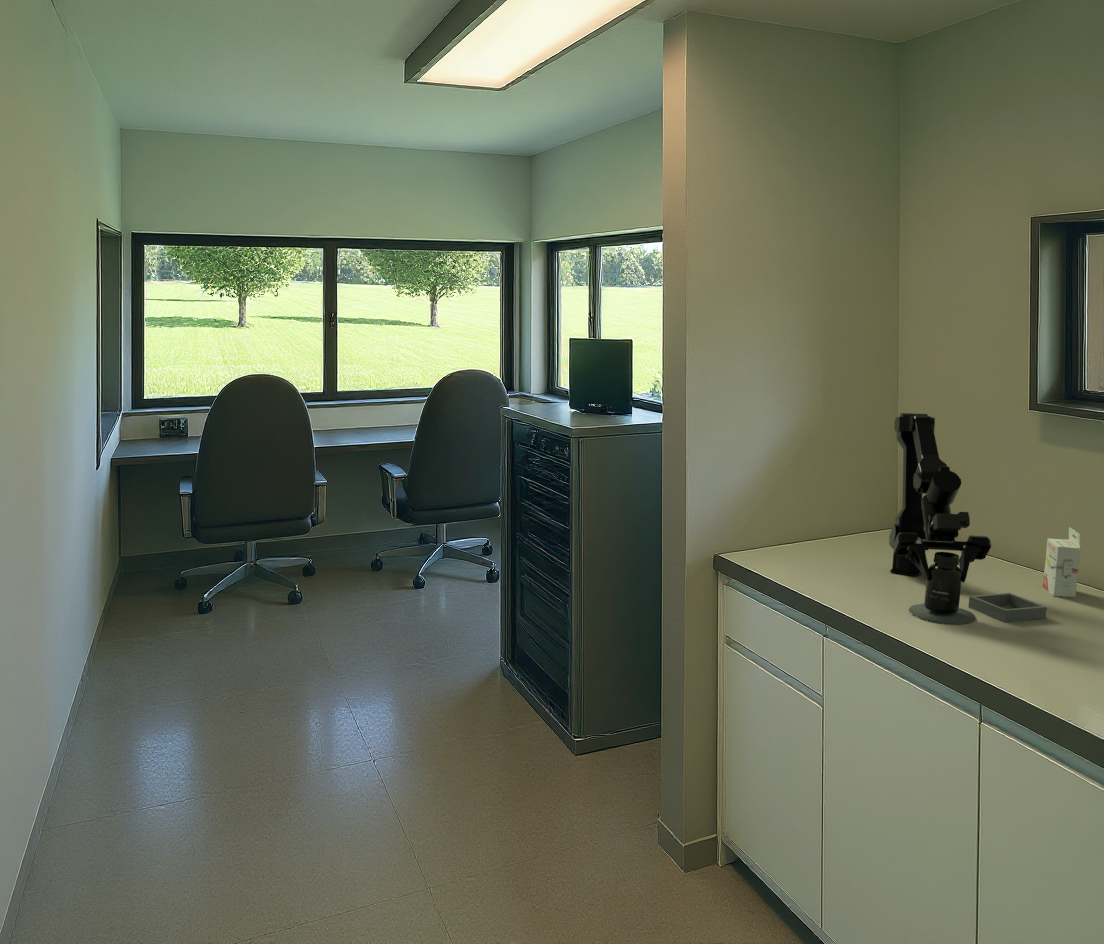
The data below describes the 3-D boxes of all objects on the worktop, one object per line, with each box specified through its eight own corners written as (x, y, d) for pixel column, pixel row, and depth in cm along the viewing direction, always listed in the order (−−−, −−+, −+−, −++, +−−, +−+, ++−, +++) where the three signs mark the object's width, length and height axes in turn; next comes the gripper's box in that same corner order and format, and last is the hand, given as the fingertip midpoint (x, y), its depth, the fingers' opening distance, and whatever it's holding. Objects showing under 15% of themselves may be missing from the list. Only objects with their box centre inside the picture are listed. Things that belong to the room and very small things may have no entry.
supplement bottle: (932, 614, 197) (937, 558, 195) (918, 604, 204) (923, 550, 202) (964, 614, 198) (970, 558, 196) (950, 604, 204) (954, 550, 202)
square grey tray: (968, 607, 206) (969, 596, 206) (1008, 603, 209) (1009, 592, 209) (1004, 622, 196) (1005, 610, 196) (1045, 618, 199) (1047, 607, 199)
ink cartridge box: (1041, 586, 224) (1047, 525, 222) (1064, 587, 223) (1070, 526, 221) (1052, 596, 216) (1059, 533, 213) (1076, 598, 215) (1083, 534, 212)
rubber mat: (901, 616, 199) (901, 614, 199) (917, 601, 210) (917, 600, 210) (967, 628, 192) (968, 626, 192) (980, 612, 203) (980, 611, 202)
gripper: (900, 495, 202) (907, 559, 193) (993, 499, 199) (1004, 564, 191) (890, 523, 211) (896, 585, 202) (978, 527, 208) (988, 590, 200)
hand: (946, 580), depth 198 cm, fingers closed on supplement bottle, 7 cm apart
